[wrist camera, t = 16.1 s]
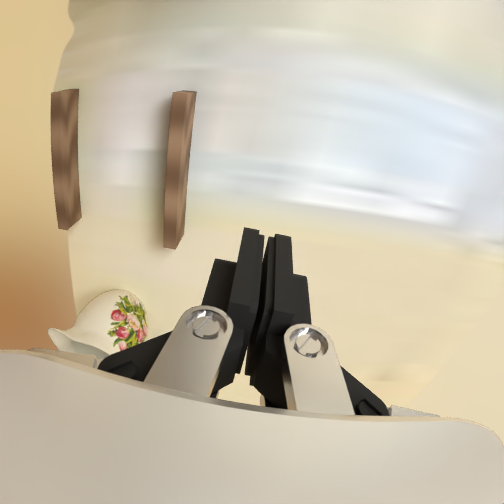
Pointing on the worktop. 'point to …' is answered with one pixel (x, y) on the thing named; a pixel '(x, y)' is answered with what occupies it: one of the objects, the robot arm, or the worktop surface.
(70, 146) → the wooden planks
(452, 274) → the worktop surface
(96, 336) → the pitcher
